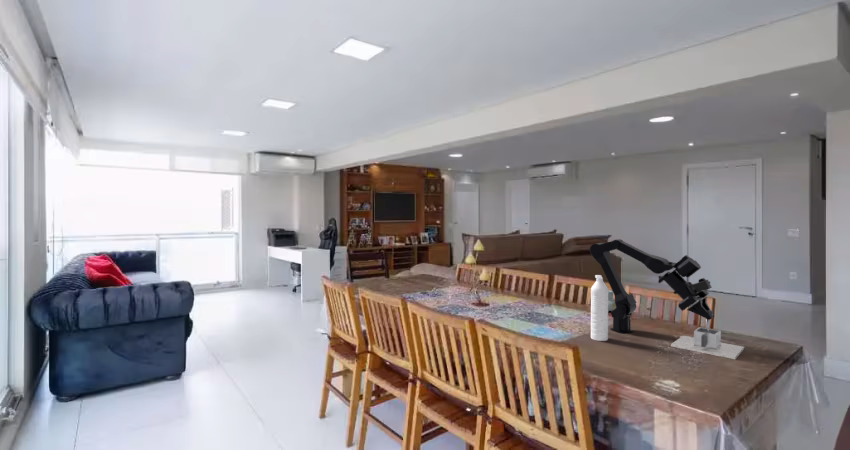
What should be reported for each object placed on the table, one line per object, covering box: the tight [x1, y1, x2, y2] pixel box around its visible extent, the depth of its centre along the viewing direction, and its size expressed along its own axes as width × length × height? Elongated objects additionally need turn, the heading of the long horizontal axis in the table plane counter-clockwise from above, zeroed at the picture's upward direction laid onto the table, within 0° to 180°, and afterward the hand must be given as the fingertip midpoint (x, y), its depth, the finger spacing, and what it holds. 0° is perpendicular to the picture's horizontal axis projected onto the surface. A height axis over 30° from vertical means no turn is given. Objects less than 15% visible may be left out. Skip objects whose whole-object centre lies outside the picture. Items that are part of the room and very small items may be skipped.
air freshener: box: [608, 289, 616, 312], centre depth 218 cm, size 11×8×10 cm
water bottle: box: [590, 274, 609, 342], centre depth 173 cm, size 9×6×25 cm
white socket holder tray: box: [670, 326, 745, 360], centre depth 160 cm, size 20×15×6 cm
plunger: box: [705, 309, 714, 333], centre depth 160 cm, size 5×5×11 cm
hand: (712, 318), depth 158 cm, fingers closed on plunger, 3 cm apart
